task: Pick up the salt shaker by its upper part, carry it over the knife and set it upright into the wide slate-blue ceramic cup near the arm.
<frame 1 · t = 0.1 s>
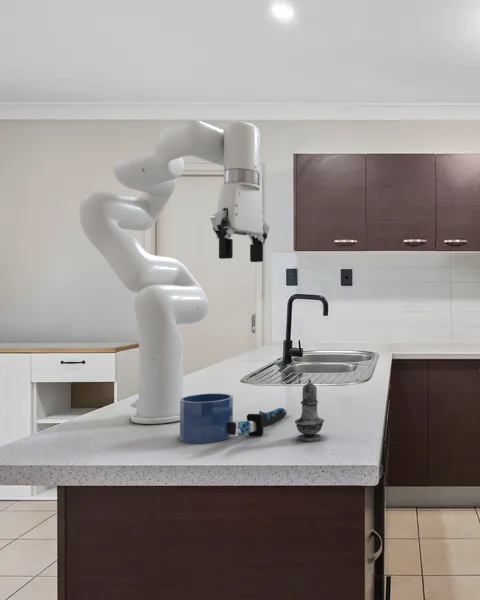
hand: (241, 260, 112), 37 cm above the countertop, tool pointing down, fingers open, 9 cm apart
salt shaker: (309, 439, 104), on the countertop
knife: (262, 432, 110), on the countertop
blue cup: (206, 436, 106), on the countertop
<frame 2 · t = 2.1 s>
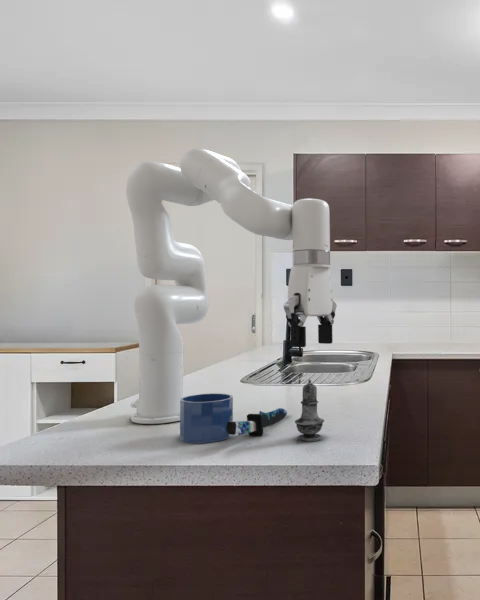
hand: (312, 345, 105), 19 cm above the countertop, tool pointing down, fingers open, 9 cm apart
nothing on the countertop moved.
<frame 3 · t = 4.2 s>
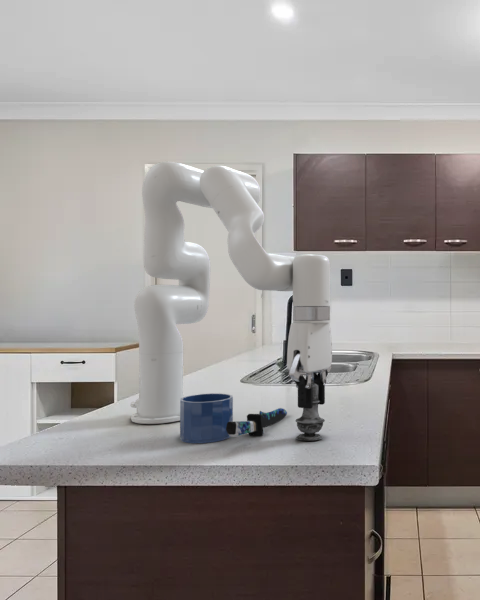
hand: (311, 404, 105), 7 cm above the countertop, tool pointing down, fingers closed on salt shaker, 3 cm apart
salt shaker: (309, 438, 104), on the countertop, touching gripper
everything else where it was.
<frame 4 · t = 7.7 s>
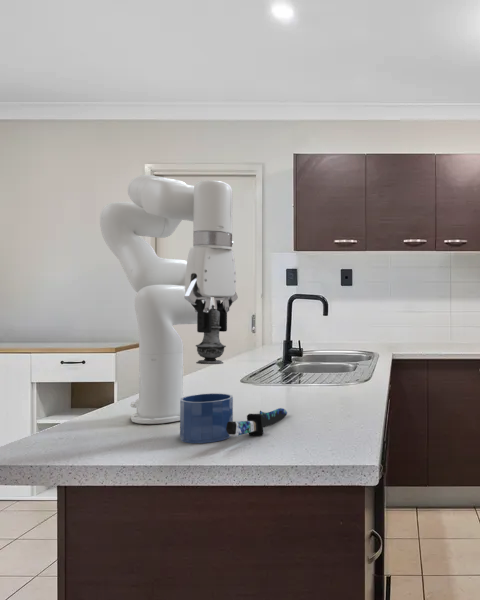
hand: (212, 330, 106), 22 cm above the countertop, tool pointing down, fingers closed on salt shaker, 3 cm apart
salt shaker: (209, 364, 105), point 15 cm above the countertop, touching gripper
everything else where it was.
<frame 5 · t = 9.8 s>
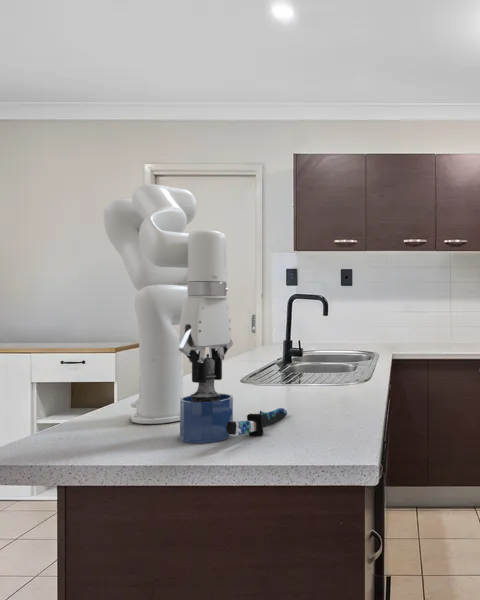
hand: (207, 380, 106), 12 cm above the countertop, tool pointing down, fingers closed on salt shaker, 3 cm apart
salt shaker: (204, 413, 105), point 5 cm above the countertop, touching gripper
everything else where it was.
when the fingers open (8 cm above the countertop, at t = 11.9 s): salt shaker stays where it is, resting on blue cup.
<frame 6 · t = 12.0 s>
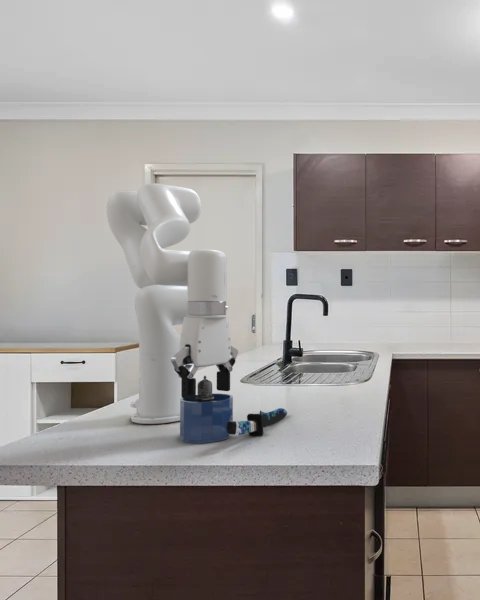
hand: (206, 394, 106), 9 cm above the countertop, tool pointing down, fingers open, 9 cm apart
salt shaker: (204, 435, 105), resting on blue cup
everything else where it was.
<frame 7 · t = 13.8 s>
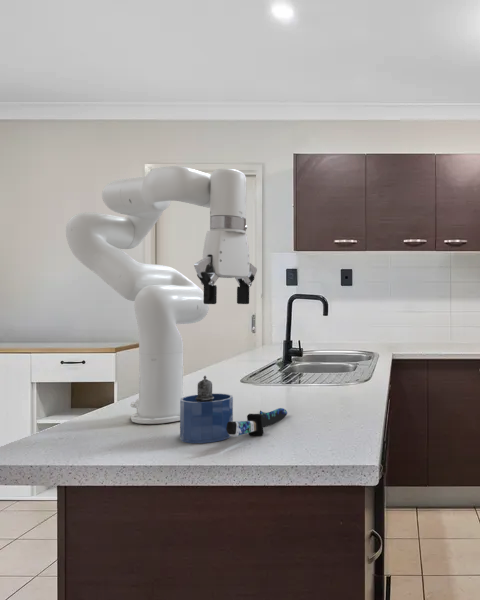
hand: (227, 303, 114), 27 cm above the countertop, tool pointing down, fingers open, 9 cm apart
nothing on the countertop moved.
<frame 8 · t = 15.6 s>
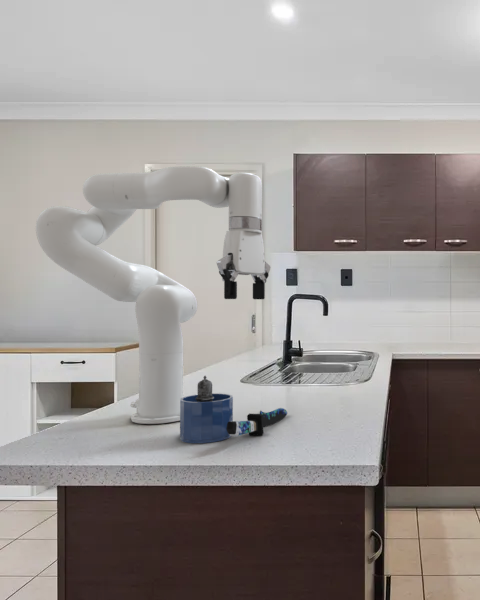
hand: (245, 299, 122), 28 cm above the countertop, tool pointing down, fingers open, 9 cm apart
nothing on the countertop moved.
at the end: salt shaker 0.4 cm off-centre in the blue cup, point 0.4 cm above the blue cup's base; salt shaker tilted 0°; the gripper is holding nothing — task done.
